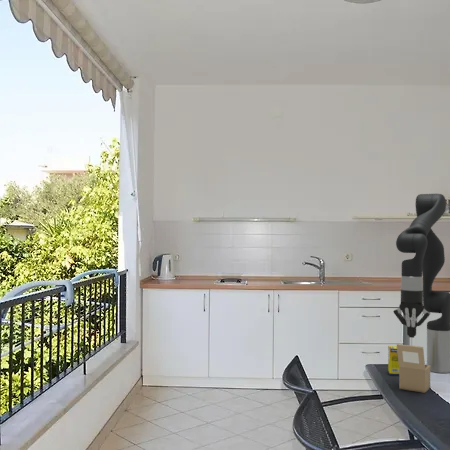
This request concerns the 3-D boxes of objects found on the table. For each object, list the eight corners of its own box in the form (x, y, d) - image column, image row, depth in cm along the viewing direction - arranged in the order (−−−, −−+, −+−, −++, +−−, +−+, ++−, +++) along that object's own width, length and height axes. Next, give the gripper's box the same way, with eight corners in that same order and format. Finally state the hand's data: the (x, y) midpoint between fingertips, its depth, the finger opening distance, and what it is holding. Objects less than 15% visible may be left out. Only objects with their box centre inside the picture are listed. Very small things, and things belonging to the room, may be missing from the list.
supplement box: (405, 376, 208) (405, 349, 209) (389, 375, 210) (389, 348, 210) (403, 373, 214) (403, 346, 215) (387, 372, 215) (388, 345, 216)
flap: (397, 343, 188) (396, 344, 187) (423, 346, 183) (422, 348, 183) (399, 365, 191) (398, 366, 190) (425, 368, 186) (424, 369, 185)
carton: (405, 383, 198) (405, 362, 198) (430, 387, 193) (430, 365, 193) (399, 388, 190) (399, 366, 191) (425, 392, 186) (425, 370, 186)
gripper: (433, 289, 188) (433, 337, 187) (395, 287, 195) (395, 333, 194) (428, 290, 182) (428, 341, 181) (390, 288, 189) (390, 336, 188)
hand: (411, 337), depth 188 cm, fingers closed
